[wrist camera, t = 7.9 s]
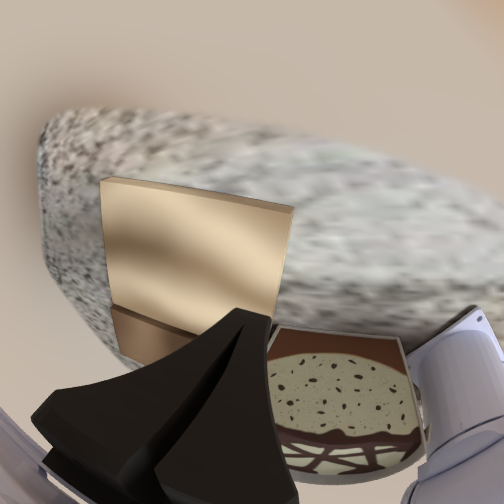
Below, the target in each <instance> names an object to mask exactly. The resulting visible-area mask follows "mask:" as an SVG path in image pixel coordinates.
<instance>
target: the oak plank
mask: <svg viewBox="0 0 504 504" xmlns="http://www.w3.org/2000/svg"><path fill="white" fill-rule="evenodd" d="M100 195H101V213H102V226H103V236H104V246H105V255H106V263H107V270H108V277H109V283H110V290H111V296H112V301H113V303H115V304H117V305H120V306H122V307H125V308H127V309H129V310H132V311H134V312H137V313H139V314H142V315H145V316H147V317H150V318H152V319H155V320H158V321H160V322H163V323H166V324H168V325H171V326H174V327H177V328H180V329H182V330H185V331H188V332H191V333H194V334H197V335H200V334H202V333H203V332H205V331H206V330H207V329H209V328H210V327H211V326H213V325H214V324H215V323H217V322H218V321H219V320H220V319H222V318H223V317H224V316H225V315H226V314H228V313H229V312H230V311H231V310H232V309H234V308H236V307H237V308H241V309H244V310H248V311H252V312H255V313H259V314H263V315H267V316H270V317H271V319H272V322H273V317H274V312H275V307H276V302H277V297H278V292H279V287H280V282H281V277H282V272H283V267H284V261H285V256H286V251H287V245H288V240H289V234H290V229H291V223H292V218H293V212H294V207H290V206H285V205H281V204H276V203H271V202H266V201H261V200H256V199H250V198H245V197H240V196H235V195H229V194H224V193H218V192H212V191H206V190H200V189H194V188H188V187H182V186H176V185H169V184H163V183H156V182H149V181H142V180H135V179H127V178H119V177H110V178H107V179H104V180H101V181H100ZM271 326H272V323H271ZM270 331H271V328H270ZM269 336H270V333H269ZM268 340H269V338H268ZM267 344H268V343H267Z"/></svg>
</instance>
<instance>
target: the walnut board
mask: <svg viewBox="0 0 504 504" xmlns="http://www.w3.org/2000/svg"><path fill="white" fill-rule="evenodd" d="M110 310H111V315H112V319H113V324H114V328H115V333H116V337H117V341H118V345H119V349H120V353H121V354H123V355H125V356H127V357H129V358H131V359H134V360H136V361H138V362H140V363H142V364H144V365H149V364H151V363H153V362H155V361H157V360H159V359H161V358H163V357H165V356H167V355H169V354H171V353H172V352H174V351H176V350H177V349H179V348H181V347H182V346H184V345H185V344H187V343H189V342H190V341H192V340H193V339H195V338H196V337H198V336H199V335H197V334H194V333H191V332H188V331H185V330H182V329H180V328H177V327H174V326H171V325H168V324H166V323H163V322H160V321H158V320H155V319H152V318H150V317H147V316H145V315H142V314H139V313H137V312H134V311H132V310H129V309H127V308H125V307H122V306H120V305H117V304H114V305H113V306H112V307H110Z"/></svg>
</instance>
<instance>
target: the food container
mask: <svg viewBox="0 0 504 504" xmlns="http://www.w3.org/2000/svg"><path fill="white" fill-rule="evenodd" d="M267 369H268V382H269V391H270V398H271V404H272V410H273V415H274V420H275V424H276V428H277V432H278V436H279V439H280V443H281V447H282V450H283V453H284V456H285V459H286V462H287V465H288V468H289V471H290V474H291V476H292V479H293V481H296V482H302V483H309V484H318V485H347V484H357V483H364V482H369V481H373V480H378V479H381V478H384V477H387V476H390V475H393V474H395V473H397V472H400V471H402V470H404V469H406V468H408V467H409V466H411V465H413V464H414V463H415V462H417V461H418V460H419V459H421V458H422V457H423V456H424V455H425V454H426V453H427V446H428V445H429V444H430V440H431V432H432V424H431V423H430V424H429V425H428V426H427V427H426V429H425V430H424V429H423V424H422V419H421V415H420V410H419V406H418V402H417V398H416V394H415V390H414V386H413V382H412V378H411V375H410V371H409V368H408V364H407V361H406V357H405V354H404V351H403V347H402V344H401V341H400V338H399V337H395V336H381V335H369V334H358V333H348V332H339V331H329V330H321V329H312V328H305V327H297V326H289V325H282V324H278V326H277V328H276V330H275V332H274V334H273V336H272V337H271V339H270V341H269V343H268V345H267Z"/></svg>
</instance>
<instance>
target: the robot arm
mask: <svg viewBox="0 0 504 504" xmlns="http://www.w3.org/2000/svg"><path fill="white" fill-rule="evenodd" d="M478 317H480V318H478ZM477 318H478V319H477ZM271 323H272V319H271V317H270V316H267V315H263V314H259V313H255V312H252V311H248V310H244V309H241V308H237V307H236V308H234V309H232V310H231V311H230V312H229V313H228V314H226V315H225V316H224V317H223V318H222V319H220V320H219V321H218V322H217V323H215V324H214V325H213V326H211V327H210V328H209V329H207V330H206V331H205V332H203V333H202V334H200V335H199V336H198V337H196V338H195V339H193V340H192V341H190V342H189V343H187V344H185V345H184V346H182V347H181V348H179V349H177V350H176V351H174V352H172V353H171V354H169V355H167V356H165V357H163V358H161V359H159V360H157V361H155V362H153V363H151V364H149V365H147V366H144V367H142V368H140V369H137V370H135V371H132V372H130V373H127V374H125V375H121V376H118V377H115V378H112V379H109V380H105V381H101V382H98V383H94V384H90V385H85V386H79V387H72V388H66V389H58V390H55V391H54V392H53V393H52V394H51V395H50V396H49V397H48V398H47V399H46V400H45V401H44V402H43V403H42V405H41V406H40V407H39V408H38V409H37V410H36V411H35V412H34V413H33V415H32V416H31V421H32V423H33V424H34V426H35V427H36V428H37V429H38V431H39V432H40V433H41V434H42V435H43V436H44V437H45V439H46V440H47V441H48V442H49V443H50V444H51V445H52V446H53V448H52V449H51V450H50V451H49V453H47V452H46V451H45V450H44V449H43V448H41V447H40V446H39V445H38V444H37V443H36V442H35V441H34V440H33V439H31V438H30V437H29V436H28V435H27V434H26V433H25V432H24V431H23V430H22V429H21V428H20V427H19V426H18V425H17V424H16V423H15V422H14V421H13V420H12V419H11V418H10V417H9V416H8V415H7V414H6V413H5V412H4V410H3V409H2V408H1V407H0V504H79V503H78V502H77V501H76V500H74V499H73V498H72V497H70V496H69V495H68V494H66V493H65V492H64V491H62V490H61V489H59V488H58V487H57V486H55V485H54V484H53V483H51V482H50V481H49V480H48V479H47V473H46V472H48V473H49V474H50V475H51V476H52V477H54V478H55V479H56V480H58V481H59V482H60V483H61V484H62V485H64V486H65V487H66V488H68V489H69V490H70V491H72V492H73V493H74V494H76V495H77V496H78V497H80V498H81V499H83V500H84V501H86V502H87V503H89V504H299V497H298V491H297V489H296V486H295V484H294V481H293V479H292V476H291V474H290V471H289V468H288V465H287V462H286V459H285V456H284V453H283V450H282V447H281V443H280V439H279V436H278V432H277V428H276V424H275V420H274V415H273V410H272V404H271V398H270V391H269V382H268V369H267V343H268V338H269V333H270V328H271ZM405 357H406V361H407V364H408V368H409V371H410V375H411V378H412V381H413V382H414V383H415V384H416V386H417V387H418V388H419V389H420V394H421V401H422V409H423V418H424V428H425V429H426V427H427V426H428V425H429V424H430V423H431V424H432V432H431V440H430V444H429V445H428V446H427V453H426V454H427V462H426V463H424V464H423V465H421V466H419V467H418V479H417V480H416V481H414V482H413V483H412V484H411V485H410V486H409V487H408V488H407V490H406V491H405V493H404V495H403V497H402V500H401V504H504V354H503V352H502V350H501V348H500V345H499V343H498V341H497V339H496V337H495V335H494V333H493V331H492V329H491V327H490V325H489V323H488V321H487V319H486V317H485V315H484V313H483V311H482V309H481V308H480V307H476V308H474V309H473V310H471V311H470V312H469V313H468V314H466V315H465V316H464V317H462V318H461V319H460V320H458V321H457V322H456V323H454V324H453V325H452V326H450V327H449V328H447V329H446V330H445V331H443V332H442V333H440V334H439V335H437V336H436V337H434V338H433V339H431V340H430V341H429V342H427V343H425V344H424V345H422V346H421V347H419V348H418V349H416V350H415V351H413V352H411V353H410V354H408V355H407V356H405Z"/></svg>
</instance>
